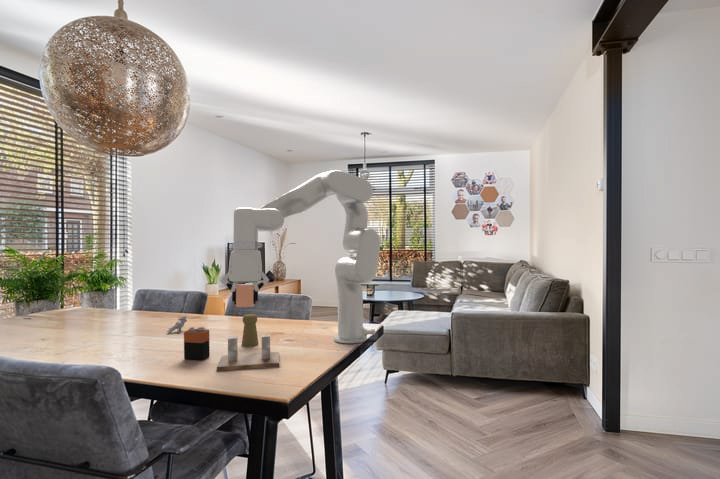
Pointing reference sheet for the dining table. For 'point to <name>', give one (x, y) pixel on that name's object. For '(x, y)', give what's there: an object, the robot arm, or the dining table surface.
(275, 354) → the peg stand
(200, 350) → the battery
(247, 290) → the salmon pink foam cube
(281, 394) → the dining table surface
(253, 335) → the cork
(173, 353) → the dining table surface
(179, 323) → the grey animal figurine
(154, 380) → the dining table surface
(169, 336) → the dining table surface
